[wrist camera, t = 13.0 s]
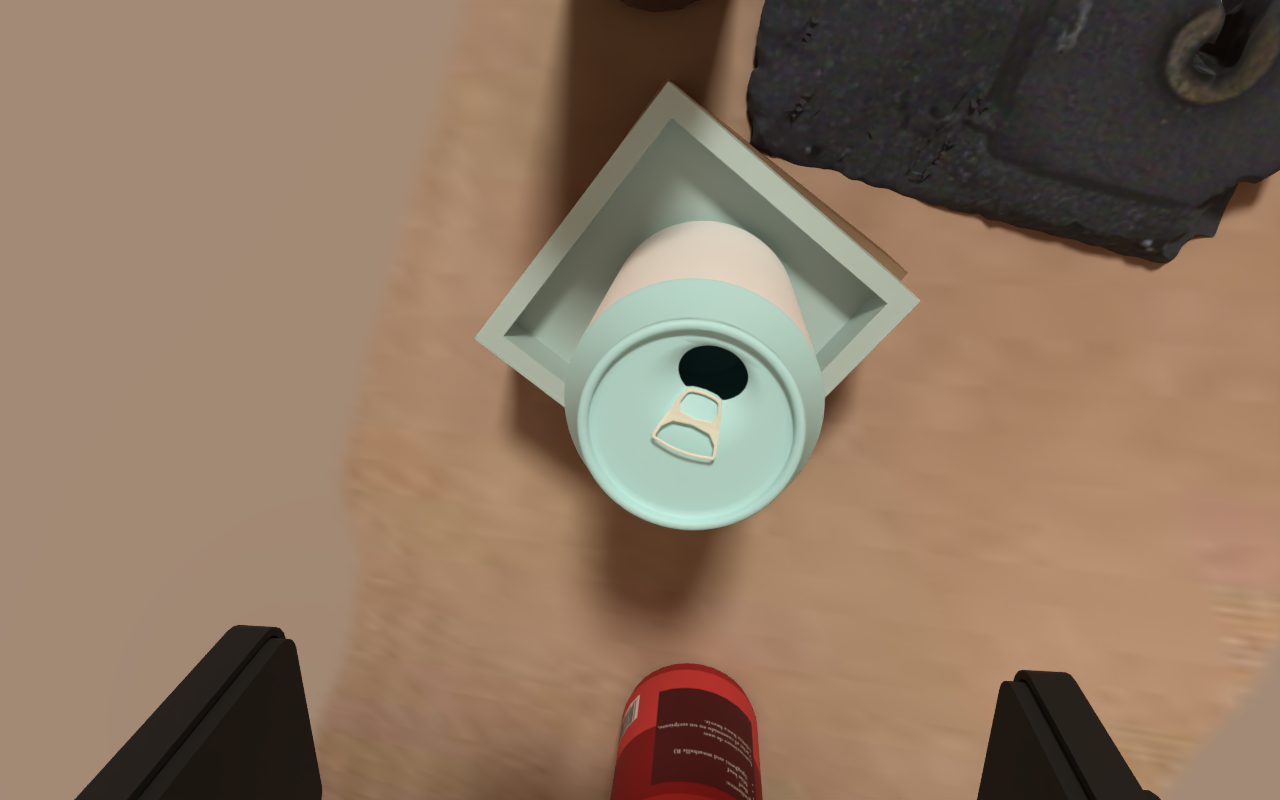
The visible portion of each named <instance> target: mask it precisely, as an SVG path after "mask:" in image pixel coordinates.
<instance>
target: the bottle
mask: <svg viewBox="0 0 1280 800" xmlns="http://www.w3.org/2000/svg"><path fill="white" fill-rule="evenodd" d="M621 1H622V2H624V3H625V4H627V5H628V6H631V7H635V8H639V9H643V10H648V11H652V12H660V11H669V10H678V9H682V8H684V7H686V6H688V5H690V4H692V3H694V2H696V1H698V0H621Z"/></svg>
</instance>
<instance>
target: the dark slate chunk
mask: <svg viewBox="0 0 1280 800" xmlns="http://www.w3.org/2000/svg"><path fill="white" fill-rule="evenodd" d="M1222 4H1223V5H1222ZM756 59H757V63H758V67H757V68H756V69H754V70H753V72H752V73H751V77H750V80H749V84H748V93H749V102H748V111H749V114H750V118H751V121H752V123H753V136H752V139H751V142H750V144H751V145H752V146H753V147H754V148H756V149H757V150H760V151H763V152H765V153H767V154H770V155H776V156H780V157H782V158H783V159H785V160H787V161H788V162H790V163H793V164H796V165H800V166H805V167H815V168H821V169H832V170H835V171H838V172H840V173H842V174H843V175H844V176H846V177H847V178H849V179H851V180H860V181H863V182H864V183H866V184H868V185H870V186H873V187H878V188H888V189H890V190H892V191H895V192H897V193H899V194H902V195H905V196H908V197H912V198H915V199H919V200H922V201H924V202H927V203H929V204H931V205H936V206H938V205H939V206H944V207H947V208H949V209H950V210H954V211H959V212H965V213H970V214H979V213H980V214H981V215H982V216H984V217H985V218H987V219H989V220H998V221H1002V222H1005V223H1008V224H1011V225H1014V226H1016V227H1020V228H1027V229H1031V230H1036V231H1042V232H1045V233H1047V234H1050V235H1054V236H1059V237H1063V238H1068V239H1074V240H1078V241H1081V242H1083V243H1086V244H1089V245H1093V246H1100V247H1104V248H1106V249H1108V250H1111V251H1114V252H1116V253H1118V254H1121V255H1126V256H1135V257H1140V258H1143V259H1146V260H1149V261H1152V262H1156V263H1165V262H1169V261H1171V260H1173V259H1174V258H1175V257H1176V256H1177V254H1178V253H1179V251H1180V249H1181V247H1182V246H1183V244H1184V243H1185V242H1187V241H1188V240H1190V239H1192V238H1193V237H1195V236H1208V237H1213V236H1214V235H1215V234H1216V231H1217V229H1218V226H1219V223H1220V220H1221V218H1222V215H1223V213H1224V210H1225V208H1226V206H1227V204H1228V202H1229V200H1230V199H1231V197H1232V195H1233V193H1234V191H1235V189H1236V187H1237V185H1238V183H1239V182H1251V183H1257V182H1259V181H1262V180H1263V179H1265V178H1267V177H1269V176H1271V175H1272V174H1274V173H1276V172H1277V171H1279V170H1280V0H1222V3H1221V0H765V3H764V6H763V10H762V14H761V20H760V28H759V32H758V37H757V46H756Z"/></svg>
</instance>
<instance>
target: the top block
mask: <svg viewBox="0 0 1280 800" xmlns="http://www.w3.org/2000/svg"><path fill="white" fill-rule="evenodd" d="M690 221H715V222H721V223H726V224H730V225H733V226H736V227H738V228H741V229H743V230H745V231H747V232H749V233H750V234H752V235H754V236H755V237H757V238H758V239H760V240H761V241H762V242H763V243H765V244H766V245H767V246H768V247H769V248H770V249H771V250H772V251H773V252H774V253H775V255H776V256H777V257H778V259H779V260H780V261H781V263H782V265H783V266H784V268H785V270H786V272H787V274H788V276H789V279H790V282H791V285H792V288H793V290H794V293H795V296H796V299H797V302H798V305H799V308H800V311H801V314H802V317H803V320H804V323H805V326H806V329H807V332H808V335H809V338H810V340H811V343H812V346H813V349H814V352H815V355H816V358H817V361H818V364H819V367H820V370H821V374H822V379H823V384H824V393H825V397H826V396H827V395H828V394H829V393H830V392H831V391H832V390H833V389H834V388H835V387H836V386H837V385H838V384H839V383H840V382H841V381H842V380H843V379H844V378H845V377H846V376H847V375H848V374H849V373H850V372H851V371H852V370H853V369H854V368H855V367H856V366H857V365H858V364H859V363H860V362H861V361H862V360H863V359H864V358H865V357H866V356H867V355H868V354H869V353H870V352H871V351H872V350H873V348H874V347H875V346H876V345H877V344H878V343H879V342H880V341H881V340H882V339H883V338H884V337H885V336H886V335H887V334H888V333H889V332H890V331H891V330H892V329H893V328H894V327H895V326H896V325H897V324H898V323H899V322H900V321H901V320H902V319H903V318H904V317H905V316H906V315H907V314H908V313H909V312H910V311H911V310H912V309H913V308H914V307H915V306H916V305H917V304H918V303H919V302H920V300H919V299H918V298H917V297H916V296H915V295H914V294H913V293H912V292H911V291H910V290H909V289H908V288H907V287H906V286H905V285H904V284H903V283H902V282H901V281H900V280H899V279H898V278H897V277H896V276H894V275H893V274H892V273H891V272H890V271H889V270H887V269H886V268H885V267H884V266H883V265H882V264H881V263H879V262H878V261H877V260H876V259H875V258H874V257H873V256H871V255H870V254H869V253H868V252H867V251H866V250H865V249H863V248H862V247H861V246H860V245H859V244H858V243H856V242H855V241H854V240H853V239H852V238H851V237H850V236H848V235H847V234H846V233H845V232H844V231H843V230H842V229H840V228H839V227H838V226H837V225H836V224H835V223H834V222H832V221H831V220H830V219H829V218H828V217H827V216H825V215H824V214H823V213H822V212H821V211H820V210H819V209H817V208H816V207H815V206H814V205H813V204H812V203H811V202H809V201H808V200H807V199H806V198H805V197H804V196H803V195H801V194H800V193H799V192H798V191H797V190H796V189H794V188H793V187H792V186H791V185H790V184H789V183H788V182H786V181H785V180H784V179H783V178H782V177H781V176H780V175H778V174H777V173H776V172H775V171H774V170H773V169H772V168H770V167H769V166H768V165H767V164H766V163H765V162H763V161H762V160H761V159H760V158H759V157H758V156H757V155H755V154H754V153H753V152H752V151H751V150H750V149H749V148H747V147H746V146H745V145H744V144H743V143H742V142H741V141H739V140H738V139H737V138H736V137H735V136H734V135H732V134H731V133H730V132H729V131H728V130H727V129H726V128H724V127H723V126H722V125H721V124H720V123H719V122H718V121H716V120H715V119H714V118H713V117H712V116H711V115H710V114H708V113H707V112H706V111H705V110H704V109H703V108H701V107H700V106H699V105H698V104H697V103H696V102H695V101H693V100H692V99H691V98H690V97H689V96H688V95H687V94H685V93H684V92H683V91H682V90H681V89H680V88H679V87H677V86H676V85H675V84H674V83H672V82H669V81H668V82H667V84H666V85H665V86H664V88H663V89H662V90H661V92H660V93H659V94H658V96H657V97H656V98H655V100H654V101H653V102H652V104H651V105H650V106H649V107H648V109H647V110H646V111H645V113H644V114H643V115H642V117H641V118H640V119H639V121H638V122H637V123H636V125H635V126H634V127H633V129H632V130H631V131H630V133H629V134H628V135H627V137H626V138H625V139H624V141H623V142H622V143H621V145H620V146H619V147H618V149H617V150H616V151H615V153H614V154H613V155H612V157H611V158H610V159H609V161H608V162H607V163H606V165H605V166H604V167H603V169H602V170H601V171H600V172H599V174H598V175H597V176H596V178H595V179H594V180H593V182H592V183H591V184H590V186H589V187H588V188H587V190H586V191H585V192H584V194H583V195H582V196H581V198H580V199H579V200H578V202H577V203H576V204H575V206H574V207H573V208H572V210H571V211H570V212H569V214H568V215H567V216H566V218H565V219H564V220H563V222H562V223H561V224H560V226H559V227H558V228H557V230H556V231H555V232H554V234H553V235H552V236H551V237H550V239H549V240H548V241H547V243H546V244H545V245H544V247H543V248H542V249H541V251H540V252H539V253H538V255H537V256H536V257H535V259H534V260H533V261H532V263H531V264H530V265H529V267H528V268H527V269H526V271H525V272H524V273H523V275H522V276H521V277H520V279H519V280H518V281H517V283H516V284H515V285H514V287H513V288H512V289H511V291H510V292H509V293H508V295H507V296H506V297H505V299H504V300H503V301H502V302H501V304H500V305H499V306H498V308H497V309H496V310H495V312H494V313H493V314H492V316H491V317H490V318H489V320H488V321H487V322H486V324H485V325H484V326H483V328H482V329H481V330H480V332H479V333H478V334H477V336H476V337H475V338H474V339H476V340H477V341H478V342H479V343H481V344H482V345H483V346H485V347H486V348H487V349H489V350H490V351H491V352H493V353H494V354H495V355H497V356H498V357H499V358H500V359H502V360H503V361H504V362H506V363H507V364H508V365H510V366H511V367H512V368H514V369H515V370H516V371H517V372H519V373H520V374H521V375H523V376H524V377H525V378H527V379H528V380H529V381H531V382H532V383H533V384H534V385H536V386H537V387H538V388H540V389H541V390H542V391H544V392H545V393H546V394H548V395H549V396H550V397H552V398H553V399H554V400H555V401H557V402H558V403H559V404H561V405H562V406H563V407H565V404H564V391H565V381H566V375H567V371H568V367H569V364H570V360H571V358H572V355H573V353H574V351H575V348H576V347H577V345H578V343H579V341H580V339H581V337H582V336H583V334H584V332H585V330H586V329H587V327H588V325H589V323H590V322H591V320H592V318H593V316H594V315H595V313H596V311H597V309H598V308H599V306H600V304H601V302H602V301H603V299H604V297H605V295H606V294H607V292H608V290H609V289H610V287H611V285H612V283H613V282H614V280H615V278H616V276H617V275H618V273H619V271H620V269H621V268H622V266H623V264H624V263H625V261H626V260H627V258H628V257H629V256H630V255H631V253H632V252H633V251H634V250H635V249H636V248H637V247H638V246H639V245H640V244H641V243H642V242H644V241H645V240H646V239H648V238H649V237H651V236H652V235H654V234H655V233H657V232H659V231H661V230H663V229H665V228H668V227H670V226H673V225H677V224H680V223H685V222H690Z"/></svg>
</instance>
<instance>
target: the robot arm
mask: <svg viewBox="0 0 1280 800" xmlns="http://www.w3.org/2000/svg"><path fill="white" fill-rule="evenodd" d="M321 798H322V784H321V779H320V774H319V768H318V763H317V757H316V752H315V747H314V741H313V736H312V730H311V725H310V720H309V714H308V709H307V703H306V698H305V693H304V687H303V683H302V676H301V671H300V666H299V660H298V655H297V649H296V646H295V643H294V642H293V640H291V639H286V638H285V635H284V632H282V630H281V629H280V628H277V627H265V626H247V625H237V626H234V627H232V628H231V629H230V630H228V631H227V632H226V633H225V634H224V636H223V637H222V638H221V639H220V640H219V641H218V642H217V643H216V644H215V646H214V647H213V648H212V649H211V650H210V651H209V652H208V653H207V654H206V655H205V657H204V658H203V659H202V660H201V661H200V662H199V663H198V664H197V665H196V666H195V667H194V669H193V670H192V671H191V672H190V673H189V674H188V675H187V676H186V677H185V679H184V680H183V681H182V682H181V683H180V684H179V685H178V686H177V687H176V689H175V690H174V691H173V692H172V693H171V694H170V695H169V696H168V697H167V698H166V700H165V701H164V702H163V703H162V704H161V705H160V706H159V707H158V708H157V709H156V711H155V712H154V713H153V714H152V715H151V716H150V717H149V718H148V719H147V720H146V722H145V723H144V724H143V725H142V726H141V727H140V728H139V729H138V730H137V731H136V733H135V734H134V735H133V736H132V737H131V738H130V739H129V740H128V741H127V742H126V744H125V745H124V746H123V747H122V748H121V749H120V750H119V751H118V752H117V753H116V755H115V756H114V757H113V758H112V759H111V760H110V761H109V762H108V763H107V765H106V766H105V767H104V768H103V769H102V770H101V771H100V772H99V773H98V774H97V776H96V777H95V778H94V779H93V780H92V781H91V782H90V783H89V784H88V785H87V787H86V788H85V789H84V790H83V791H82V792H81V793H80V794H79V795H78V796H77V798H76V799H75V800H321ZM977 800H1161V799H1160V798H1159V797H1158V796H1157V795H1155V794H1154V793H1152V792H1151V791H1149V790H1143V789H1142V788H1141V786H1140V784H1139V783H1138V781H1137V780H1136V778H1135V776H1134V775H1133V773H1132V771H1131V770H1130V768H1129V767H1128V765H1127V763H1126V762H1125V760H1124V759H1123V757H1122V755H1121V754H1120V752H1119V750H1118V749H1117V747H1116V746H1115V744H1114V742H1113V741H1112V739H1111V737H1110V736H1109V734H1108V733H1107V731H1106V729H1105V728H1104V726H1103V725H1102V723H1101V721H1100V720H1099V718H1098V716H1097V715H1096V713H1095V712H1094V710H1093V708H1092V707H1091V705H1090V703H1089V702H1088V700H1087V699H1086V697H1085V695H1084V694H1083V692H1082V691H1081V689H1080V687H1079V686H1078V684H1077V682H1076V681H1075V680H1074V678H1073V677H1072V676H1071V675H1070V674H1068V673H1066V672H1049V671H1031V670H1020V671H1018V672H1017V674H1016V675H1015V678H1014V681H1004V682H1003V683H1002V684H1001V686H1000V689H999V694H998V699H997V704H996V709H995V714H994V718H993V723H992V728H991V733H990V738H989V743H988V748H987V753H986V758H985V763H984V768H983V773H982V778H981V783H980V788H979V793H978V798H977Z"/></svg>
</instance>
